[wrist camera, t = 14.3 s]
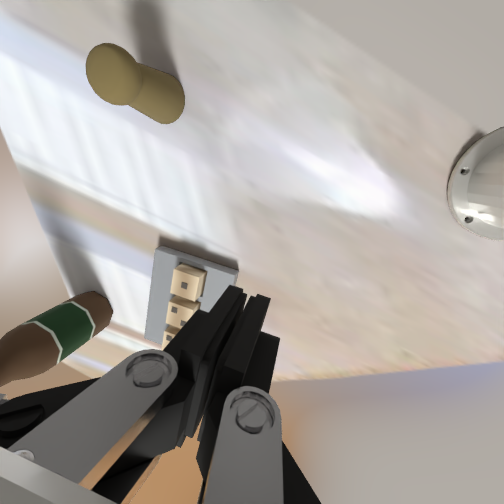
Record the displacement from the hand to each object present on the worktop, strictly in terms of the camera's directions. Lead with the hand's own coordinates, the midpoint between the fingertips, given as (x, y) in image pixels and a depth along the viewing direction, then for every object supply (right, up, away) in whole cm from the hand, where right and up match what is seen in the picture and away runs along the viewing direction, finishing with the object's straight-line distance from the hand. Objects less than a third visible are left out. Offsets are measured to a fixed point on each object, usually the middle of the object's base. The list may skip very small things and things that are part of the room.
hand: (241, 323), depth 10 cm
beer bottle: (-29, -8, +39) cm, 49 cm away
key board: (-10, -6, +33) cm, 35 cm away
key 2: (-10, -6, +33) cm, 35 cm away
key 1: (-9, -1, +31) cm, 32 cm away
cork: (-11, +23, +25) cm, 36 cm away
